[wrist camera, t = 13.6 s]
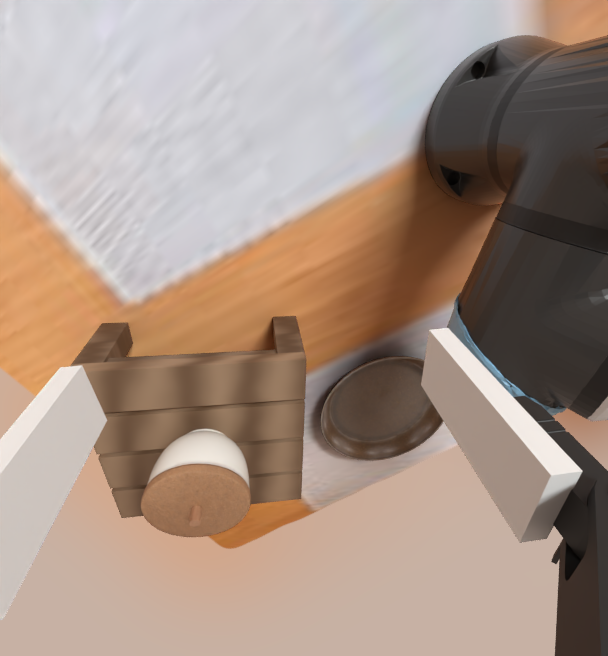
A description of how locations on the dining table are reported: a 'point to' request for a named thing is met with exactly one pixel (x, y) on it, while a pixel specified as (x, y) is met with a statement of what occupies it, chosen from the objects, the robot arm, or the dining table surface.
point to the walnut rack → (199, 409)
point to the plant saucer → (379, 410)
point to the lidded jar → (198, 486)
